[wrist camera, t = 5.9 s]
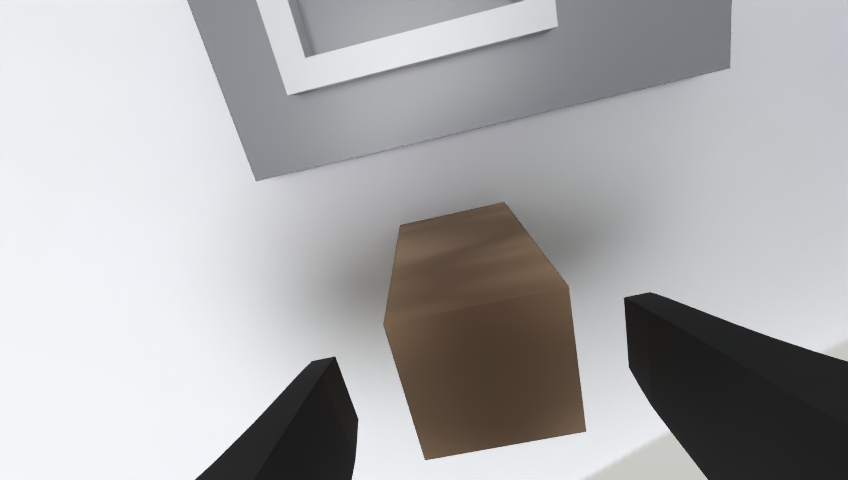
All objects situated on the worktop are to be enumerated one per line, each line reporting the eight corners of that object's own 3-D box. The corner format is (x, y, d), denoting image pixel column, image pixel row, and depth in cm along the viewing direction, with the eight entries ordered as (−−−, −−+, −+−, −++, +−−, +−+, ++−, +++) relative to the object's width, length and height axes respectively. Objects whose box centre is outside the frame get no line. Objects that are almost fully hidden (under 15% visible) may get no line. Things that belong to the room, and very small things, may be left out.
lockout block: (504, 202, 15) (568, 286, 8) (519, 295, 16) (586, 431, 10) (400, 225, 15) (383, 324, 9) (424, 315, 17) (425, 460, 10)
